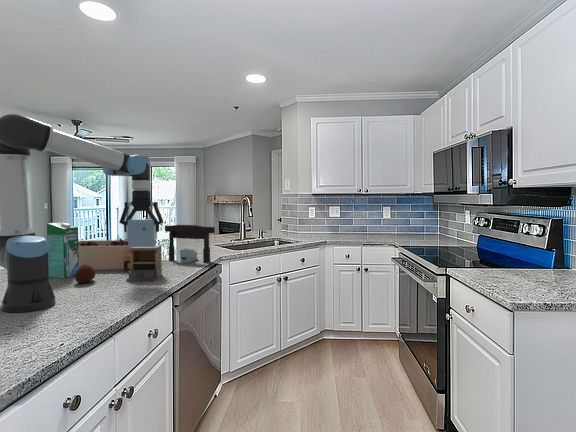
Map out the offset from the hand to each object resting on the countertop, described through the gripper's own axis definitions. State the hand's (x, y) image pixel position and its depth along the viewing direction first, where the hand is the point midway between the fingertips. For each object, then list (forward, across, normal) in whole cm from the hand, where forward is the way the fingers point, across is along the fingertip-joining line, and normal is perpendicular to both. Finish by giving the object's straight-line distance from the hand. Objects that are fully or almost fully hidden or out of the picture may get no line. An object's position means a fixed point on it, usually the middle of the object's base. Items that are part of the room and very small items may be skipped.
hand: (142, 239), depth 176 cm
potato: (+18, +23, +3) cm, 30 cm away
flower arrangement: (+19, +30, -40) cm, 53 cm away
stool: (+18, -13, -51) cm, 56 cm away
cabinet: (+18, 0, -4) cm, 18 cm away
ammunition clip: (+18, +10, -24) cm, 32 cm away
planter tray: (+18, +30, -41) cm, 54 cm away
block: (+3, 0, 0) cm, 3 cm away
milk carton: (+18, +39, -12) cm, 45 cm away
